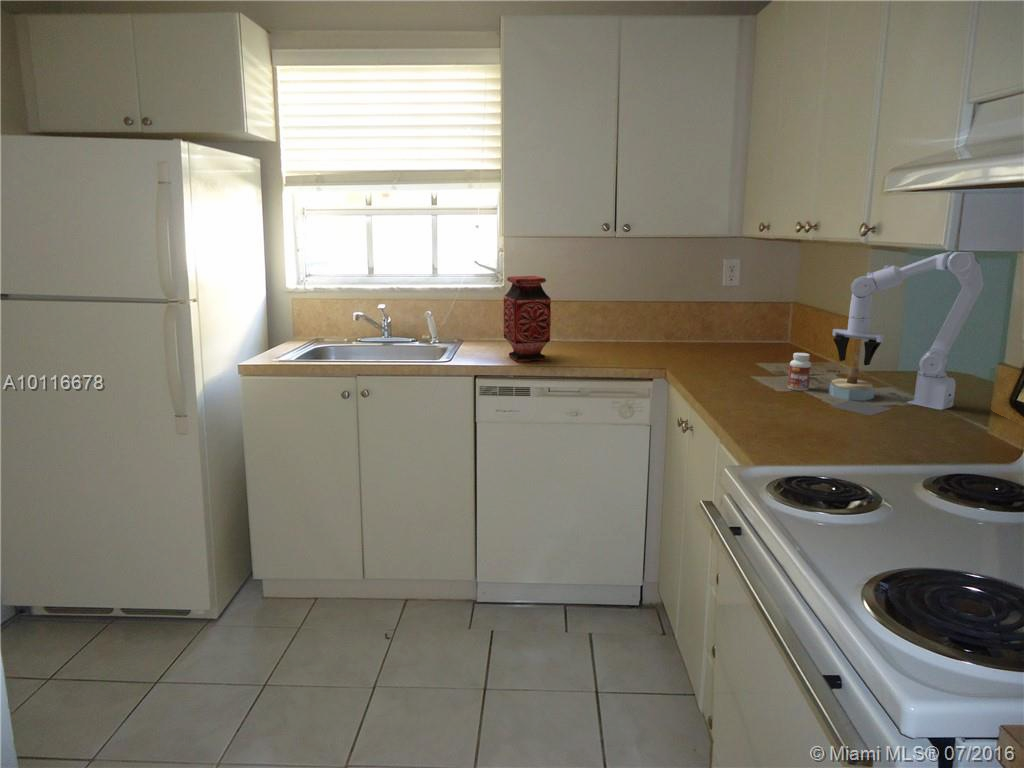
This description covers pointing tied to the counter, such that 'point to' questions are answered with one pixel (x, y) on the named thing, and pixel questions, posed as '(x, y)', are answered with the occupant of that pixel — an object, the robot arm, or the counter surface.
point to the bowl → (851, 393)
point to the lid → (852, 381)
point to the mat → (860, 407)
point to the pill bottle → (799, 372)
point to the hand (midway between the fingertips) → (854, 362)
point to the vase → (527, 318)
